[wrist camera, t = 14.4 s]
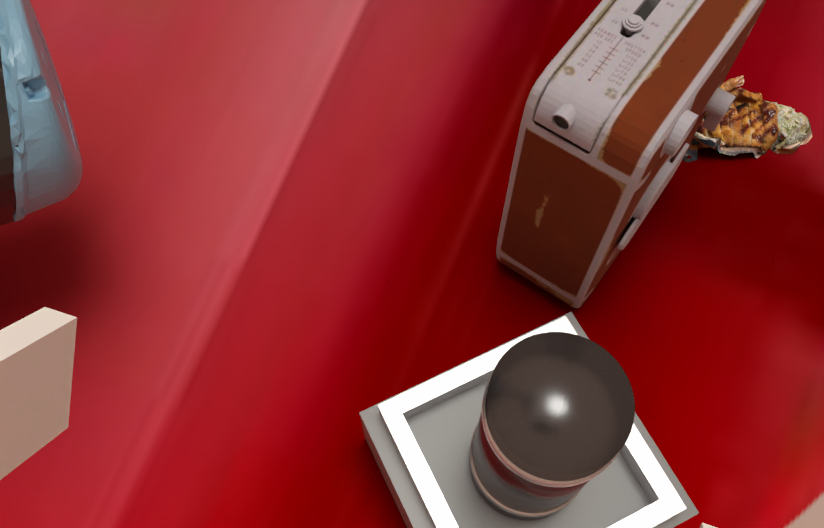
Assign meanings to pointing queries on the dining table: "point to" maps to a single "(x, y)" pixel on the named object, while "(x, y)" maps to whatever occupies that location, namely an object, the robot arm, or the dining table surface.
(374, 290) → the dining table surface
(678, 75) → the cine camera
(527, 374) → the lens
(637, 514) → the square picture frame
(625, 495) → the square shallow tray
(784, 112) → the pastry
